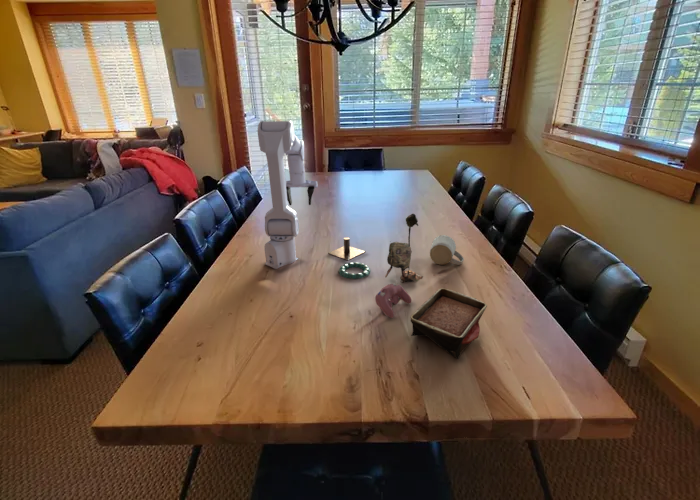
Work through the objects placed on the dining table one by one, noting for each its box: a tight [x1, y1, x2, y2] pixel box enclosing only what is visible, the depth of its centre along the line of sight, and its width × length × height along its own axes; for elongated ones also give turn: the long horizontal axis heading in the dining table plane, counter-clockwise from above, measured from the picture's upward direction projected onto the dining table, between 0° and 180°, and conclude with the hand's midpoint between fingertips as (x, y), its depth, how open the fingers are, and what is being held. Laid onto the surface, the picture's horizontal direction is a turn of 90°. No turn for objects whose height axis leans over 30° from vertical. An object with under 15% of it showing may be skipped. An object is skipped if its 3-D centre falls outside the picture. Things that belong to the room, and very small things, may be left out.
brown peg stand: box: [328, 237, 366, 261], centre depth 126 cm, size 9×9×6 cm
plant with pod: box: [385, 212, 424, 284], centre depth 106 cm, size 8×11×20 cm
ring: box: [337, 262, 371, 280], centre depth 114 cm, size 10×10×2 cm
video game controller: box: [374, 282, 413, 319], centre depth 96 cm, size 10×5×7 cm, turn 141°
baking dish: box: [410, 287, 488, 360], centre depth 84 cm, size 14×18×10 cm
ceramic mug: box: [429, 234, 465, 266], centre depth 120 cm, size 11×8×8 cm
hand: (300, 204), depth 147 cm, fingers open, 7 cm apart
